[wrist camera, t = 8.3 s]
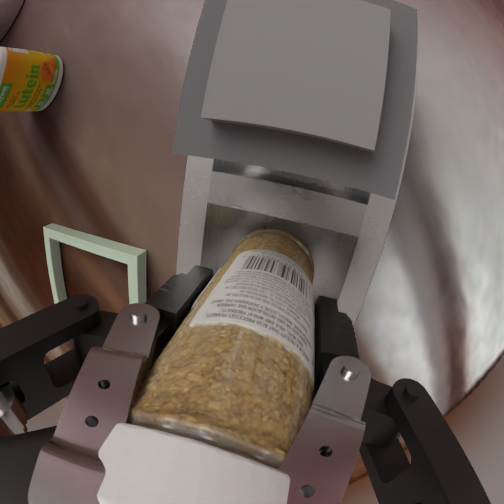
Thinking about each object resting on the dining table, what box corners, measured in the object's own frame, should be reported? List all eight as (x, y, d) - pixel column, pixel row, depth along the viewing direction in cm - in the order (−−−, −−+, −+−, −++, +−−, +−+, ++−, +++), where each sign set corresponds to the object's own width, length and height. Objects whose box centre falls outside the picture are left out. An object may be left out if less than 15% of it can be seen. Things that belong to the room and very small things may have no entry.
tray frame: (67, 320, 23) (60, 326, 22) (52, 223, 19) (43, 226, 18) (150, 360, 22) (144, 368, 21) (146, 250, 18) (137, 256, 17)
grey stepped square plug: (252, 153, 14) (158, 154, 5) (267, 70, 12) (204, -35, 3) (341, 173, 13) (403, 205, 4) (357, 88, 12) (425, -1, 3)
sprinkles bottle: (215, 268, 15) (52, 486, 3) (268, 207, 14) (64, 497, 1) (277, 318, 16) (209, 561, 3) (334, 266, 14) (353, 570, 2)
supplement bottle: (50, 117, 16) (-45, 125, 7) (26, 104, 16) (-54, 110, 7) (73, 58, 14) (-22, 45, 5) (46, 52, 14) (-35, 44, 5)
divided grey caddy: (198, 301, 18) (174, 335, 15) (238, 40, 12) (218, 10, 8) (328, 333, 17) (329, 375, 14) (394, 70, 11) (419, 47, 7)
